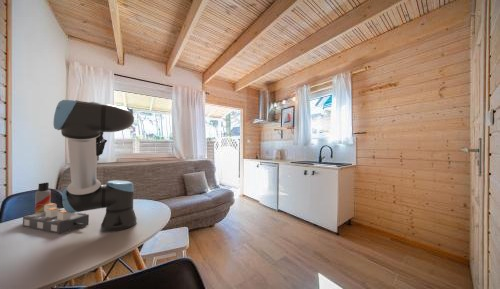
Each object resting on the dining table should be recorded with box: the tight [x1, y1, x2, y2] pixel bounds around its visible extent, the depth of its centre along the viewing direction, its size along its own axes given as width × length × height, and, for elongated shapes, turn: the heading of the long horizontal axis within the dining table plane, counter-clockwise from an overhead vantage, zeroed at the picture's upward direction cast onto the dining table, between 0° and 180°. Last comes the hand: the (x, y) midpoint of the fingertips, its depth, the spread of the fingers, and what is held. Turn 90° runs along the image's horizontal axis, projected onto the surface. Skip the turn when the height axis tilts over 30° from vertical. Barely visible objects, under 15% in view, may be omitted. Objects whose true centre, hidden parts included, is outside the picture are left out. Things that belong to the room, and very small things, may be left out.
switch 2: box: [46, 207, 60, 218], centre depth 90 cm, size 4×3×4 cm
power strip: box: [22, 209, 90, 235], centre depth 91 cm, size 33×12×6 cm, turn 75°
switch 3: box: [44, 202, 58, 212], centre depth 97 cm, size 4×3×4 cm
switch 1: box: [57, 209, 71, 221], centre depth 87 cm, size 4×3×4 cm
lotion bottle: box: [34, 182, 52, 214], centre depth 102 cm, size 6×6×20 cm
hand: (94, 166), depth 109 cm, fingers closed
